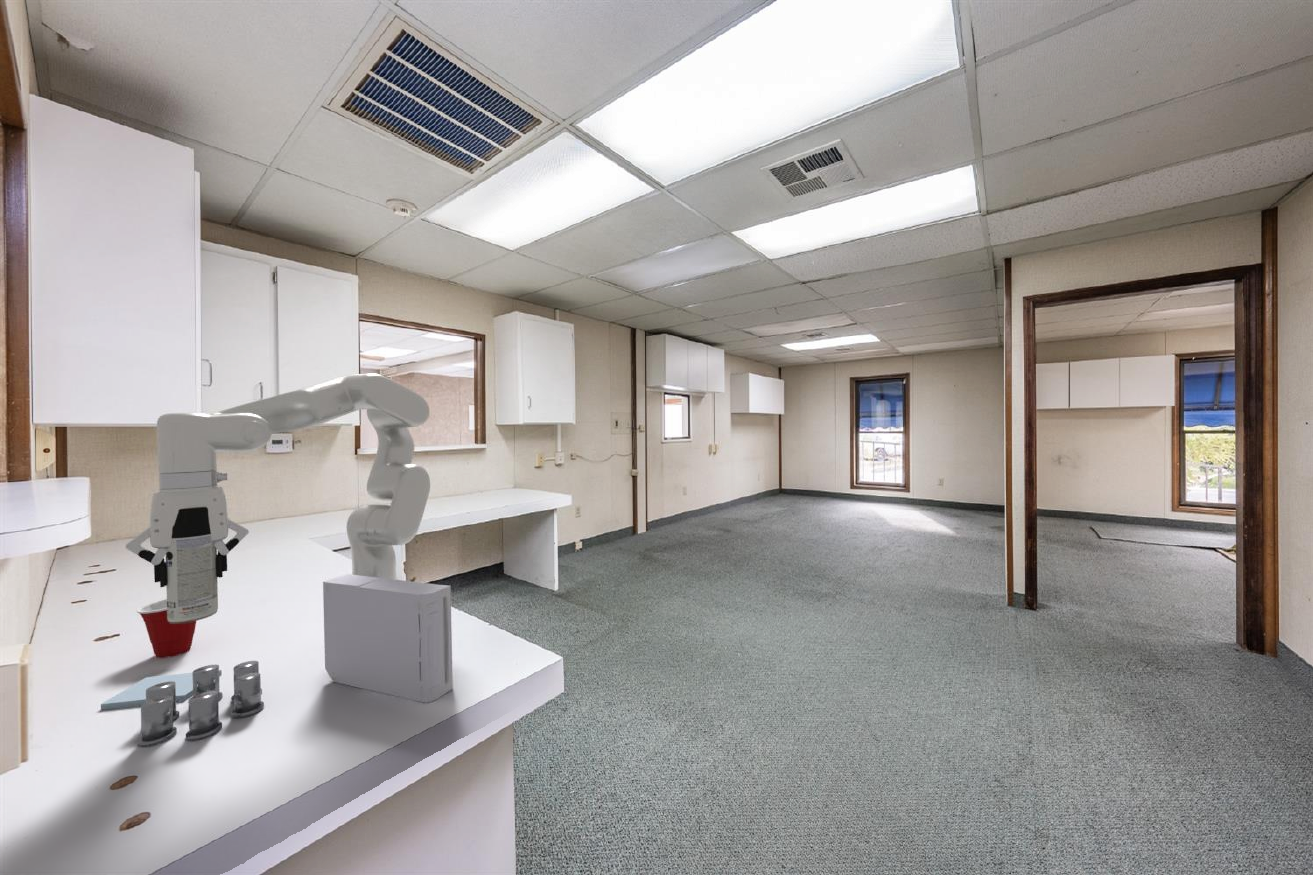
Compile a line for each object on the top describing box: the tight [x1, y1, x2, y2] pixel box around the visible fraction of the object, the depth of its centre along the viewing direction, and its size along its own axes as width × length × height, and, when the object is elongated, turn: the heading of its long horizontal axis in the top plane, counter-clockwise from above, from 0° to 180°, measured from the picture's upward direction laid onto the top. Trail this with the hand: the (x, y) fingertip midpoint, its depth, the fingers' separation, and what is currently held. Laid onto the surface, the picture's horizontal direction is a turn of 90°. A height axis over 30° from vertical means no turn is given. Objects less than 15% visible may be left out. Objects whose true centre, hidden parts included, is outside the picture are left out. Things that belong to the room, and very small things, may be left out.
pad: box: [100, 669, 222, 711], centre depth 94 cm, size 13×10×1 cm
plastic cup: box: [136, 598, 197, 659], centre depth 111 cm, size 11×11×12 cm
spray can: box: [165, 507, 219, 624], centre depth 87 cm, size 7×7×20 cm
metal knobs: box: [137, 660, 265, 748], centre depth 85 cm, size 17×16×6 cm
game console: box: [322, 573, 454, 704], centre depth 95 cm, size 6×27×20 cm, turn 70°
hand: (192, 579), depth 87 cm, fingers closed on spray can, 6 cm apart
